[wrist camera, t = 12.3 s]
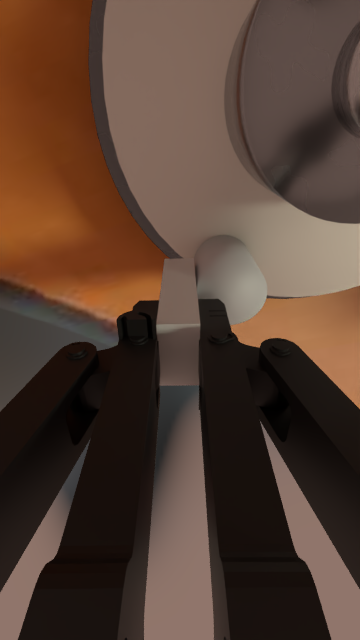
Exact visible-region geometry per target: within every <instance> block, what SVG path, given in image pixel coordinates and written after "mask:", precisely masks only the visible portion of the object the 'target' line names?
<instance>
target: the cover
mask: <svg viewBox="0 0 360 640" xmlns="http://www.w3.org/2000/svg"><path fill="white" fill-rule="evenodd" d="M224 111H225V119H226V126H227V130H228V134H229V138H230V141H231V144H232V146H233V149H234V151H235V153H236V155H237V157H238V159H239V161H240V162H241V164H242V165H243V167H244V168H245V169H246V171H247V172H248V173H249V174H250V175H251V176H252V177H253V178H254V179H255V180H256V181H257V182H258V183H260V184H261V185H262V186H264V187H265V188H266V189H268V190H269V191H271V192H273V193H274V194H276V195H277V196H279V197H280V198H282V199H283V200H285V201H286V202H288V203H290V204H291V205H293V206H294V207H296V208H297V209H299V210H301V211H303V212H305V213H307V214H309V215H311V216H313V217H316V218H319V219H322V220H325V221H331V222H336V223H347V224H359V223H360V0H256V2H255V3H254V5H253V7H252V8H251V10H250V12H249V14H248V16H247V17H246V19H245V21H244V23H243V25H242V26H241V29H240V31H239V33H238V36H237V38H236V41H235V43H234V46H233V49H232V53H231V56H230V59H229V63H228V68H227V73H226V79H225V90H224Z"/></svg>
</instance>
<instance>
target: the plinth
mask: <svg viewBox="0 0 360 640" xmlns="http://www.w3.org/2000/svg"><path fill="white" fill-rule="evenodd" d="M106 2H107V0H93V2H92V10H91V17H90V29H89V77H90V90H91V102H92V107H93V113H94V118H95V123H96V129H97V134H98V138H99V141H100V144H101V148H102V151H103V154H104V158H105V161H106V164H107V167H108V169H109V171H110V174H111V176H112V178H113V181H114V183H115V185H116V188H117V190H118V192H119V194H120V196H121V198H122V199H123V201H124V203H125V204H126V206H127V208H128V210H129V211H130V213H131V215H132V216H133V218H134V219H135V220H136V222H137V223H138V224H139V226H140V227H141V228H142V230H143V231H144V232H145V234H146V235H147V236H148V237H149V238H150V239H151V240H152V241H153V243H154V244H155V245H156V246H157V247H158V248H159V249H160V250H161V251H162V252H163V253H164V254H165V255H167V256H168V257H169V258H170V259H181V258H183V257H181V256H180V255H179V254H178V253H176V252H175V251H174V250H173V249H172V248H171V247H170V245H169V244H168V243H167V242H166V241H165V240H164V239H163V238H162V237H161V236H160V235H159V234H158V232H157V231H156V230H155V228H154V227H153V226H152V224H151V223H150V222H149V220H148V219H147V217H146V216H145V215H144V213H143V212H142V210H141V208H140V206H139V204H138V203H137V201H136V199H135V197H134V195H133V194H132V192H131V190H130V188H129V185H128V183H127V181H126V178H125V176H124V173H123V171H122V168H121V166H120V164H119V161H118V157H117V154H116V150H115V147H114V143H113V139H112V136H111V132H110V127H109V121H108V115H107V109H106V103H105V97H104V81H103V64H102V53H103V31H104V15H105V9H106ZM306 297H310V296H306ZM266 298H277V299H289V298H302V297H278V296H269V295H267V297H266Z"/></svg>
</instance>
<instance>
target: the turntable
mask: <svg viewBox="0 0 360 640" xmlns="http://www.w3.org/2000/svg"><path fill="white" fill-rule="evenodd" d="M255 2H256V0H107V2H106V9H105V15H104V31H103V53H102V64H103V81H104V97H105V103H106V109H107V115H108V121H109V127H110V132H111V136H112V139H113V143H114V147H115V150H116V154H117V157H118V161H119V164H120V166H121V168H122V171H123V173H124V176H125V178H126V181H127V183H128V185H129V188H130V190H131V192H132V194H133V195H134V197H135V199H136V201H137V203H138V204H139V206H140V208H141V210H142V212H143V213H144V215H145V216H146V217H147V219H148V220H149V222H150V223H151V224H152V226H153V227H154V228H155V230H156V231H157V232H158V234H159V235H160V236H161V237H162V238H163V239H164V240H165V241H166V242H167V243H168V244H169V245H170V247H171V248H172V249H173V250H174V251H175V252H176V253H178V254H179V255H180V256H181V257H183V258H194V267H195V277H196V286H197V296H198V299H219V300H221V301H222V302H223V303H224V304H225V307H226V311H227V316H228V319H229V323H230V325H233V324H239V323H242V322H245V321H247V320H249V319H251V318H252V317H253V316H255V315H256V314H257V313H258V312H259V311H260V310H261V308H262V307H263V305H264V303H265V300H266V297H267V295H269V296H278V297H306V296H318V295H324V294H329V293H334V292H339V291H343V290H347V289H350V288H353V287H357V286H360V223H359V224H347V223H336V222H331V221H325V220H322V219H319V218H316V217H313V216H311V215H309V214H307V213H305V212H303V211H301V210H299V209H297V208H296V207H294V206H293V205H291V204H290V203H288V202H286V201H285V200H283V199H282V198H280V197H279V196H277V195H276V194H274V193H273V192H271V191H269V190H268V189H266V188H265V187H264V186H262V185H261V184H260V183H258V182H257V181H256V180H255V179H254V178H253V177H252V176H251V175H250V174H249V173H248V172H247V171H246V169H245V168H244V167H243V165H242V164H241V162H240V161H239V159H238V157H237V155H236V153H235V151H234V149H233V146H232V144H231V141H230V138H229V134H228V130H227V126H226V119H225V111H224V90H225V79H226V73H227V68H228V63H229V59H230V56H231V53H232V49H233V46H234V43H235V41H236V38H237V36H238V33H239V31H240V29H241V26H242V25H243V23H244V21H245V19H246V17H247V16H248V14H249V12H250V10H251V8H252V7H253V5H254V3H255Z"/></svg>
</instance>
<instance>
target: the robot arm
mask: <svg viewBox="0 0 360 640" xmlns="http://www.w3.org/2000/svg"><path fill="white" fill-rule="evenodd" d="M117 327H118V335H119V342H118V345H117V346H114V347H112V348H109V349H105V350H100V351H97V349H96V346H94V345H93V344H91V343H88V342H76V343H71V344H69V345H67V346H64V347H63V348H62V349H60V350H59V351H58V352H57V353H56V354H55V355H54V356H53V357H52V358H51V359H50V360H49V362H48V363H47V364H46V365H45V366H44V367H43V368H42V369H41V370H40V371H39V372H38V373H37V374H36V375H35V376H34V377H33V378H32V379H31V380H30V381H29V383H27V384H26V386H25V387H24V388H23V389H22V390H21V391H20V392H19V393H18V394H17V395H16V396H15V397H14V398H13V399H12V400H11V401H10V402H9V403H8V404H7V405H6V407H5V408H4V409H2V411H1V412H0V592H1V590H2V588H3V587H4V585H5V583H6V582H7V580H8V578H9V577H10V575H11V573H12V571H13V570H14V568H15V566H16V565H17V563H18V561H19V559H20V558H21V556H22V554H23V553H24V551H25V549H26V547H27V546H28V544H29V542H30V541H31V539H32V537H33V536H34V534H35V532H36V530H37V529H38V527H39V525H40V524H41V522H42V520H43V518H44V517H45V515H46V513H47V511H48V510H49V508H50V507H51V505H52V503H53V501H54V500H55V498H56V496H57V495H58V493H59V491H60V489H61V488H62V486H63V484H64V483H65V481H66V479H67V478H68V476H69V474H70V472H71V471H72V469H73V467H74V466H75V464H76V462H77V460H78V459H79V457H80V455H81V453H82V452H83V450H84V449H85V447H86V445H87V443H88V442H89V440H90V443H89V446H88V450H87V454H86V457H85V460H84V464H83V467H82V470H81V474H80V477H79V481H78V484H77V488H76V491H75V495H74V498H73V502H72V505H71V509H70V512H69V516H68V519H67V522H66V526H65V529H64V533H63V536H62V540H61V543H60V546H59V549H58V552H57V554H56V556H55V558H54V559H53V560H52V561H50V562H49V563H47V564H46V565H45V566H44V568H43V570H42V571H41V573H40V575H39V578H38V580H37V583H36V585H35V588H34V591H33V594H32V597H31V600H30V604H29V607H28V610H27V613H26V616H25V619H24V622H23V626H22V629H21V632H20V635H19V638H18V640H144V606H145V593H146V580H147V566H148V553H149V539H150V526H151V511H152V499H153V485H154V471H155V458H156V444H157V430H158V417H159V404H160V387H159V384H160V386H164V385H167V386H168V385H199V410H200V415H201V431H202V446H203V462H204V475H205V492H206V507H207V522H208V537H209V552H210V566H211V567H210V568H211V582H212V597H213V614H214V640H331V637H330V634H329V630H328V627H327V623H326V620H325V616H324V613H323V610H322V606H321V603H320V600H319V596H318V593H317V589H316V586H315V583H314V580H313V578H312V575H311V572H310V570H309V568H308V566H307V565H306V563H305V562H304V561H303V560H301V559H300V558H299V557H298V555H297V553H296V551H295V549H294V546H293V542H292V539H291V535H290V531H289V527H288V523H287V520H286V516H285V512H284V509H283V505H282V501H281V498H280V494H279V490H278V487H277V483H276V479H275V475H274V472H273V469H272V464H271V460H270V457H269V453H268V449H267V446H266V442H265V438H264V434H263V431H262V427H261V423H262V424H263V426H264V428H265V430H266V431H267V433H268V435H269V436H270V438H271V440H272V441H273V443H274V445H275V447H276V448H277V450H278V452H279V453H280V455H281V457H282V458H283V460H284V462H285V463H286V465H287V467H288V468H289V470H290V472H291V474H292V475H293V477H294V479H295V480H296V482H297V484H298V485H299V487H300V489H301V491H302V492H303V494H304V496H305V497H306V499H307V501H308V502H309V504H310V506H311V507H312V509H313V511H314V512H315V514H316V516H317V518H318V519H319V521H320V523H321V524H322V526H323V528H324V529H325V531H326V533H327V535H328V536H329V538H330V540H331V541H332V543H333V545H334V546H335V548H336V550H337V552H338V553H339V555H340V556H341V558H342V560H343V562H344V563H345V565H346V567H347V568H348V570H349V572H350V574H351V575H352V577H353V579H354V580H355V582H356V584H357V585H358V587H359V589H360V409H359V408H358V407H357V406H356V405H355V404H354V403H353V402H352V401H351V400H350V399H349V398H348V397H347V396H346V395H345V394H344V393H343V392H342V391H341V390H340V389H339V388H338V386H337V385H336V384H335V383H334V382H333V381H332V380H331V379H330V378H329V377H328V376H327V375H326V374H325V373H324V372H323V371H322V370H321V369H320V368H319V367H318V366H317V365H316V364H315V363H314V362H313V361H312V360H311V359H310V358H309V357H308V356H307V355H306V354H305V353H304V352H303V351H302V350H301V349H300V348H299V346H297V345H296V344H295V343H293V342H291V341H288V340H286V339H281V338H271V339H268V340H265V341H263V342H262V343H261V346H260V348H258V347H252V346H248V345H245V344H242V343H240V342H239V341H238V338H237V337H236V335H235V334H234V333H232V331H231V327H230V323H229V319H228V316H227V311H226V307H225V304H224V303H223V302H222V301H221V300H219V299H198V296H197V286H196V277H195V267H194V258H181V259H164V267H163V275H162V283H161V291H160V299H159V300H154V301H139V302H138V303H137V304H135V305H134V306H133V310H132V311H129V312H126V313H124V314H122V315H120V316H119V317H118V318H117ZM259 419H260V420H259ZM260 421H261V423H260ZM90 438H91V439H90Z"/></svg>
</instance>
